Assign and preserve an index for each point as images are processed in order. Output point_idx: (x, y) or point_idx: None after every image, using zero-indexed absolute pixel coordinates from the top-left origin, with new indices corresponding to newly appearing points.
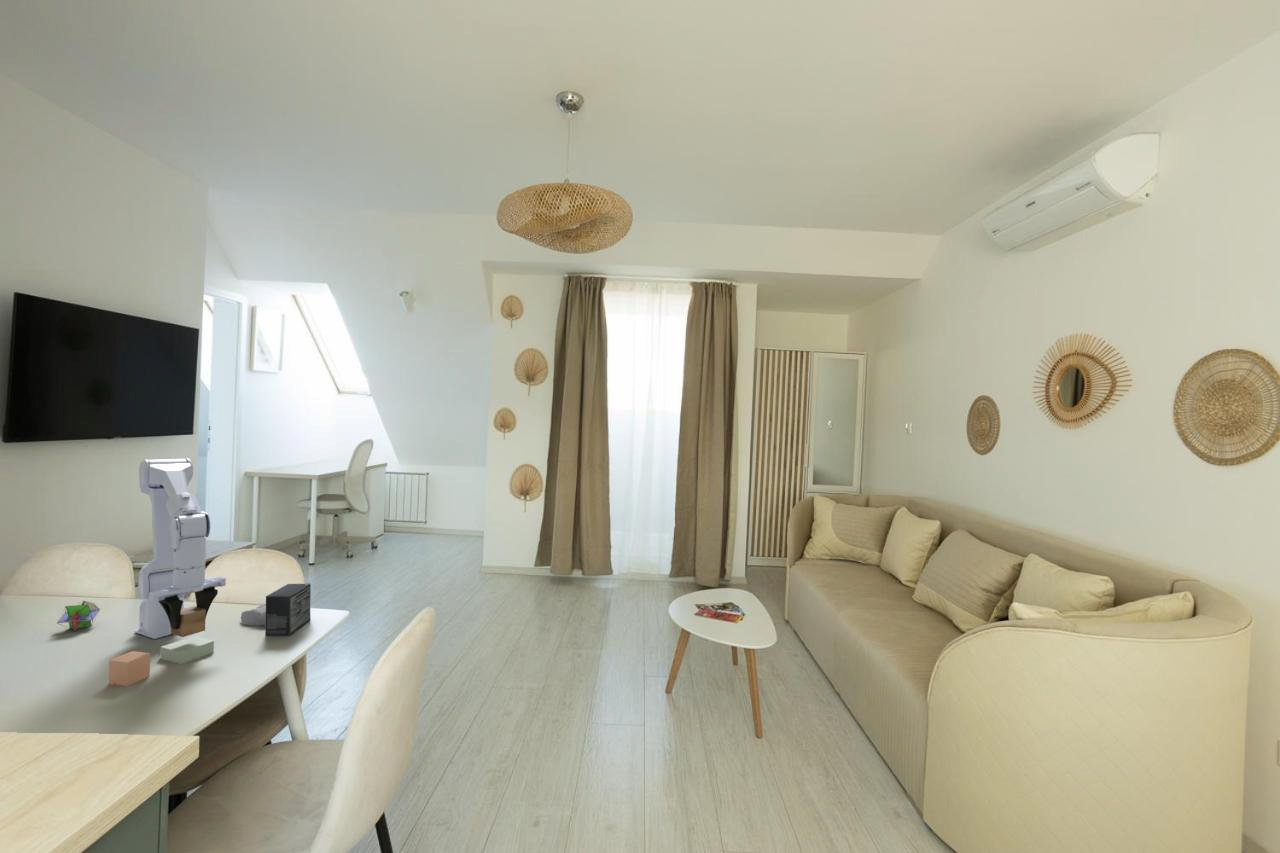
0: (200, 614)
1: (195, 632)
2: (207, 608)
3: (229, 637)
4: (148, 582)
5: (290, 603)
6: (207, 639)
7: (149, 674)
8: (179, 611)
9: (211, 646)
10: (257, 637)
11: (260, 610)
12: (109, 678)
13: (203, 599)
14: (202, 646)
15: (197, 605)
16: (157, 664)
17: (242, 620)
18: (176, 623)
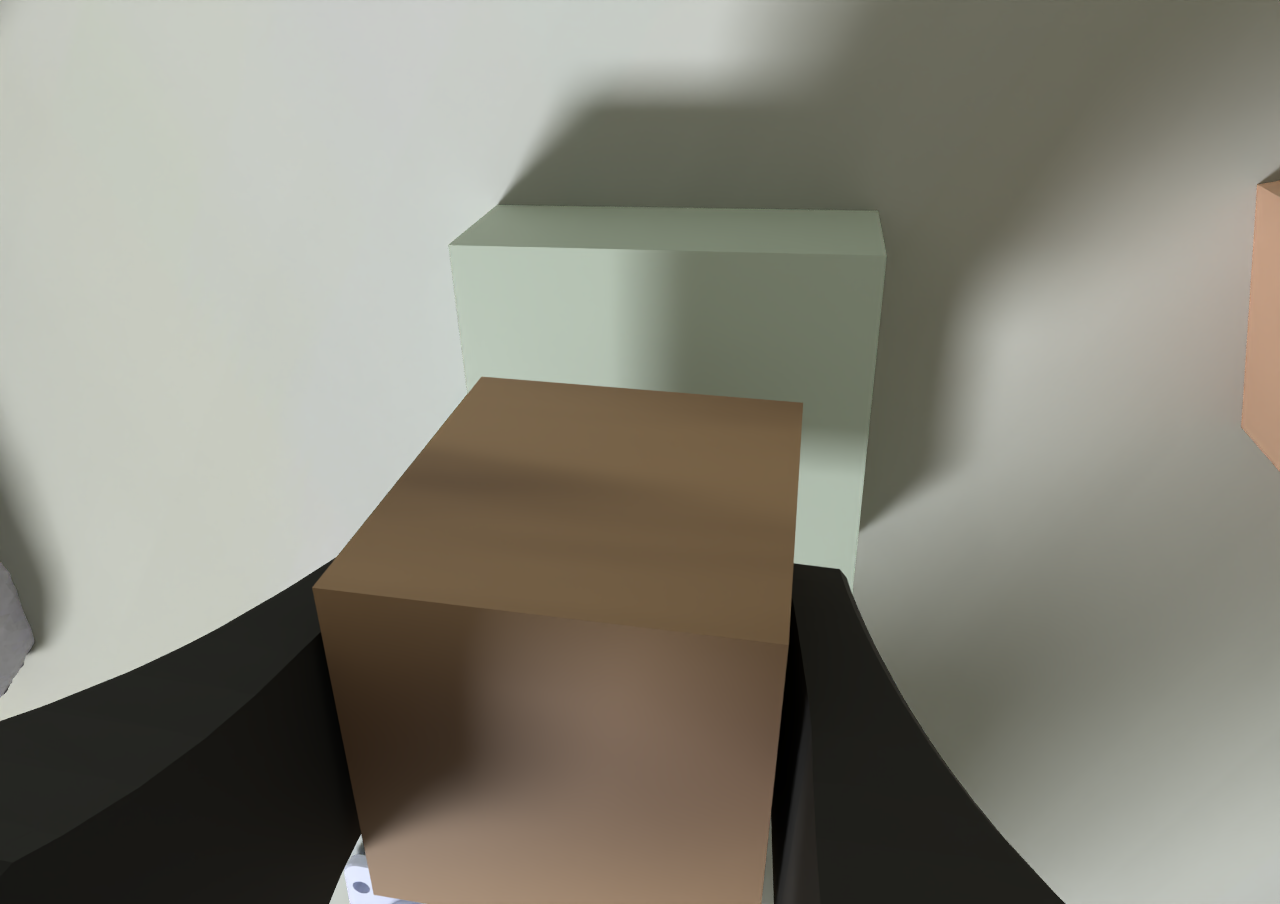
0: (453, 545)
1: (616, 392)
2: (260, 626)
3: (224, 437)
4: None
5: None
6: (467, 368)
7: (1271, 188)
8: (843, 783)
9: (499, 225)
10: (23, 167)
11: None
12: None
13: (201, 855)
14: (599, 241)
15: (334, 856)
16: (966, 427)
17: (10, 649)
18: (856, 625)
